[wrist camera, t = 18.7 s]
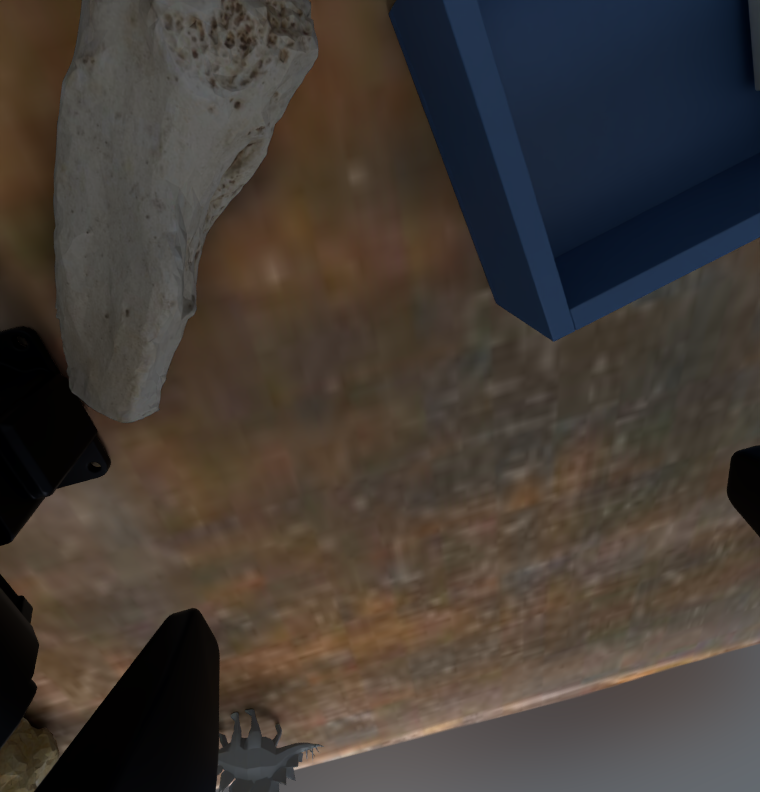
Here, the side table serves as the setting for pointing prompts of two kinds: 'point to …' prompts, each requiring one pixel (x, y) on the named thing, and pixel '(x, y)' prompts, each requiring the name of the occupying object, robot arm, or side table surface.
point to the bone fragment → (157, 172)
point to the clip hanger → (755, 38)
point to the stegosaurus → (257, 759)
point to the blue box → (590, 142)
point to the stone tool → (27, 758)
